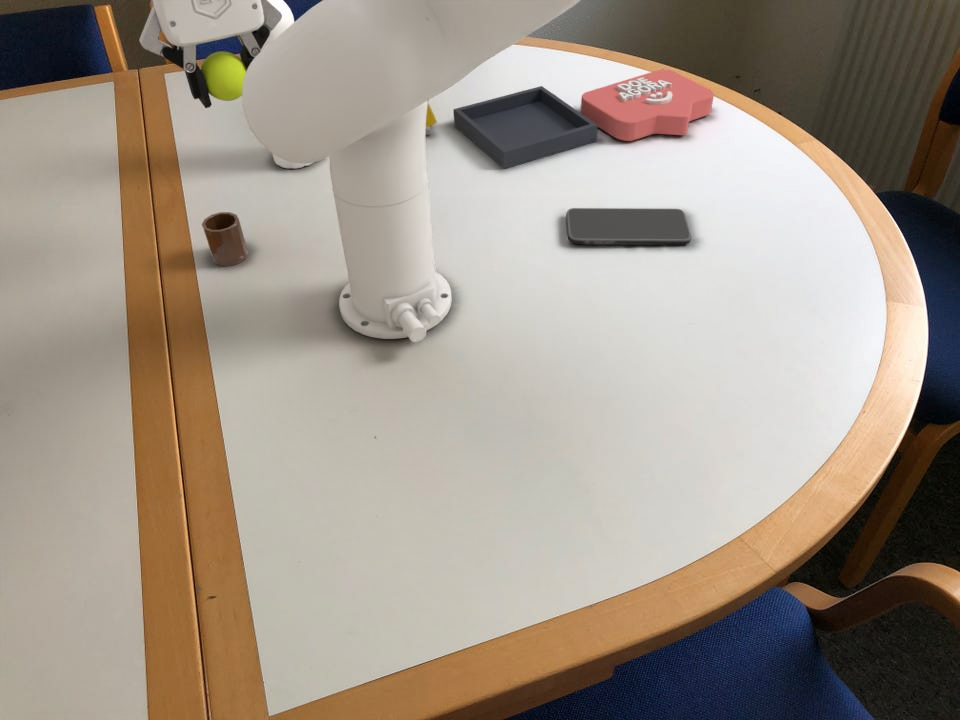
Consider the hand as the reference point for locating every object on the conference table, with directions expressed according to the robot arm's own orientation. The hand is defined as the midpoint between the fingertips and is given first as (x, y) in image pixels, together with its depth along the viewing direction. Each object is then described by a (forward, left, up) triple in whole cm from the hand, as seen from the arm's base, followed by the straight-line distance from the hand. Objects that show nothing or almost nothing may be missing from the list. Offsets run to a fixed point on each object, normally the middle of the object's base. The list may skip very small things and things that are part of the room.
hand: (230, 95), depth 87 cm
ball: (0, 0, +2) cm, 2 cm away
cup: (-1, +5, -19) cm, 20 cm away
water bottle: (+19, -9, -19) cm, 29 cm away
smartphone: (-21, -40, -19) cm, 49 cm away
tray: (+8, -42, -19) cm, 47 cm away
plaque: (+2, -61, -19) cm, 64 cm away
